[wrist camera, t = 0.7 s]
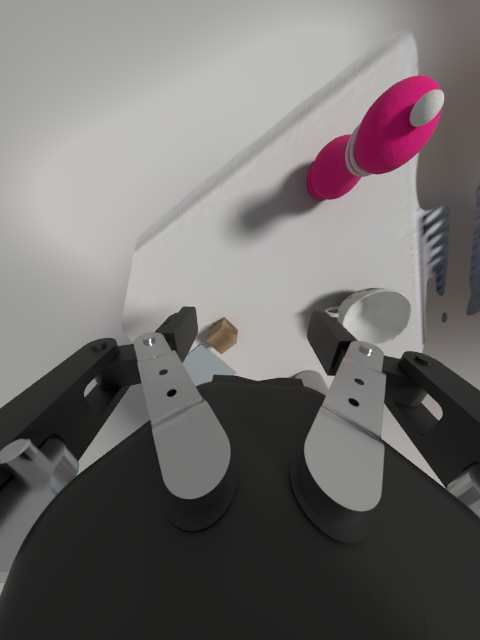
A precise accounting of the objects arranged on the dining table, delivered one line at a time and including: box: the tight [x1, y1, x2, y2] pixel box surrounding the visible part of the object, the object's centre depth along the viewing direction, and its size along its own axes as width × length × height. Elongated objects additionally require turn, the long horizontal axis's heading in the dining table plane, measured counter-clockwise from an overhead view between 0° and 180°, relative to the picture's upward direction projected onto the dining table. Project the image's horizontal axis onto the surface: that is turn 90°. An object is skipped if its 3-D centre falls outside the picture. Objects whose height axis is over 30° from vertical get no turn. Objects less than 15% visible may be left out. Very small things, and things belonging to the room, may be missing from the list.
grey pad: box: [183, 343, 236, 386], centre depth 52 cm, size 14×14×1 cm
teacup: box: [325, 288, 411, 346], centre depth 37 cm, size 15×12×8 cm
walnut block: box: [206, 317, 238, 354], centre depth 42 cm, size 5×5×6 cm
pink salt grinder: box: [307, 75, 444, 200], centre depth 21 cm, size 7×7×20 cm
